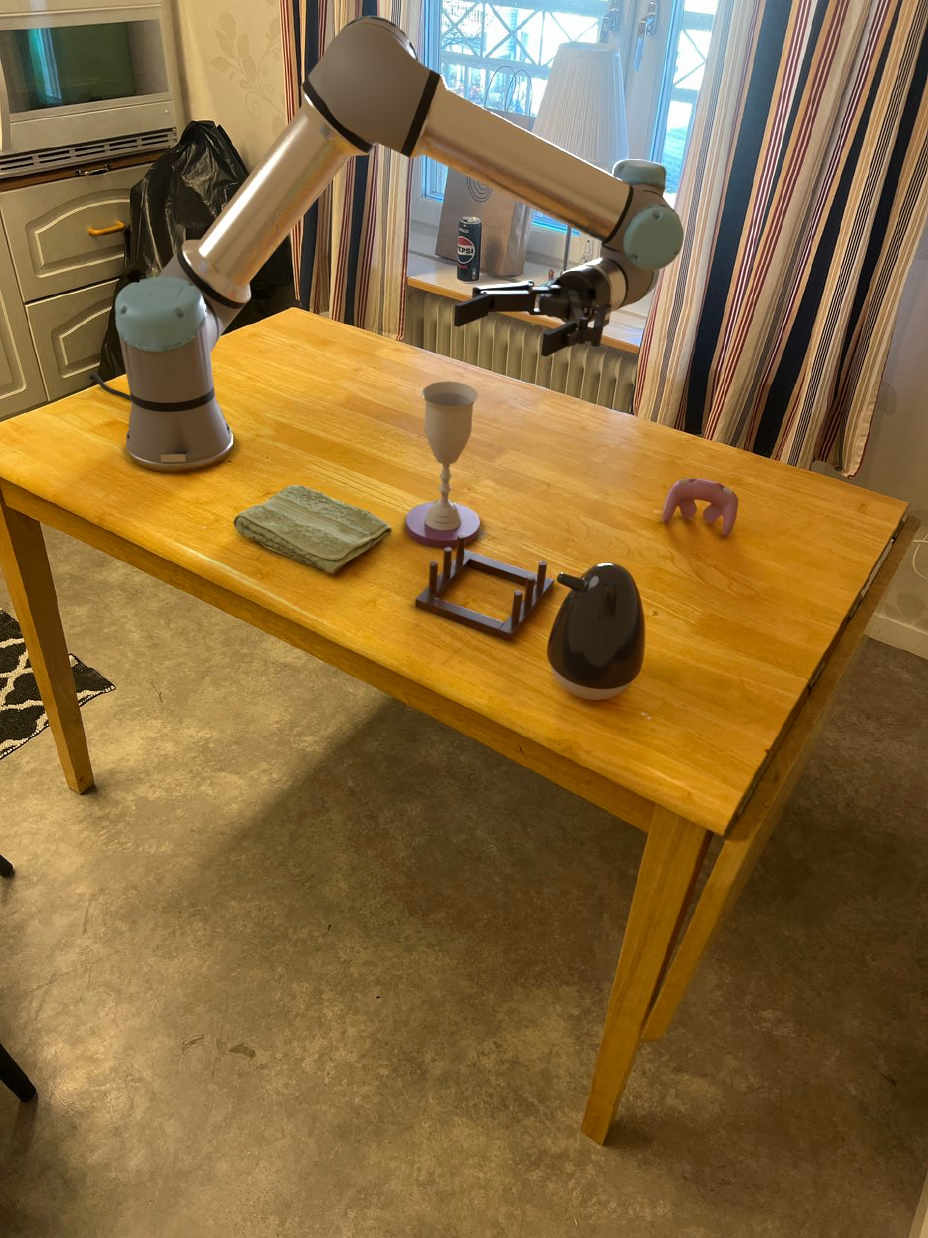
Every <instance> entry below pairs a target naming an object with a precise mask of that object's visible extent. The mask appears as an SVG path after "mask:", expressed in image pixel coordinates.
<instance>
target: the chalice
mask: <svg viewBox="0 0 928 1238" xmlns="http://www.w3.org/2000/svg"><path fill="white" fill-rule="evenodd" d="M421 394H422V397H423V399H424V402H425V412H424V413H425V415H424V433H425V435H426V439H427V442H428V445H429V447H430V450H431V453H433V456H434V458H435V460H436V462H437V463H439V464H442V469H441V473H440V474H439V477H440V480H441V484H440V485H439V486H438V491H439V492H440V495H441V496H440V499H438V500H436V502H435V501H433V502H434V503H433V504H432V505H431V507H430V510H429V511H428V514H427V515H426V517H425V522H426V524H427V525H428V526H430V527H432V528H434V529H438V530H452V529H455V528H457V527H459V526H460V525H461V523H462V519H461V517H460V513H459V511H458V508H457V506H456V505H455V504H454V503H455V502H453V501H451V500H450V499H449V493H450V492H451V491H452V489H453V488H452V487H451V486H450V481H451V478H452V477H453V476H452V473H451V469H450V467H451V465H452V464H455V463H457V462H458V460H459V458H460V457H461V455H462V453H463V451H464V450H465V448H466V446H467V443H468V442H469V439H470V437H471V435H472V424H473V412H474V411H473V410H474V404H475V403H476V401H477V399H478V396H479V395H478V394H479V393H478V392H477V389H476V388H474V387H472V386H470V385H469V384H465V383H461V382H458V381H457V382H456V381H437V382H435V383H431V384H429V385H427V386H425V387H424V388H423V389H422V392H421Z"/></svg>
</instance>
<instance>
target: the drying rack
mask: <svg viewBox="0 0 928 1238" xmlns="http://www.w3.org/2000/svg"><path fill="white" fill-rule="evenodd" d="M465 547H466V545H465V535H464V534H459V535H458V536H457V547H456V550H455V551H456V552H455V558H454V559H453V560H452V557H453V548H450V547H446V548H443V555H442V556H443V557H442V572H441V573H440V574H439V573H438V572H439V563H438V561H436V560H431V561H430V562H429V566H428V567H429V568H428V572H429V573H428V586H427V587H426V588H425V589H424V590H423V591H422V592H421V593H420V594H419V595H418V596H417V597H416V598H415V603H414V606H415V608H417V609H420V610H423V611H424V612H428V613H430V614H433V615H436V616H439V617H442V618H444V619H447V620H449V621H451V622H452V621H453V622H455V623H458V624H461V625H463V626H466V627H468V628H470V629H471V628H472V629H474V630H476V631H479V632H482V633H484V634H487V635H490V636H492V637H495V638H498V639H501V640H504V641H506V642H509V643H511V642H512V641H513V639H514V638H515V637H516V636H517V635H518V633H519V632H520V631H521V629H522V628H523V627H524V625H525V624H526V623H527V622H528V621H529V619H530V618H531V617H532V615H533V614H534V612H535V611H536V610H537V609H538V608H539V607H540V605H541V604H542V603H543V601H544V600H545V598H546V597H547V596H548V595H549V593H550V592H551V591H552V590H553V588H554V585H555V579H553V578H550V577H547V576H546V575H547V568H548V563H547V561H545V560H540V561H539V562H538V567H537V573H536V572H532V571H529V570H526V569H523V568H520V567H518V566H515V565H511V564H509V563H506V562H503V561H500V560H497V559H495V558H491V557H488V556H484V555H483V554H480V553H476V552H473V551H471V550H467V549H465ZM469 567H470V568H472V569H475V570H478V571H481V572H484V573H487V574H489V575H493V576H495V577H498V578H501V579H505V580H507V581H509V582H513V583H516V584H519V585H522V586H524V587H525V588H524V592H523V591H522V590H518V589H517V590H515V591H514V592H513V599H512V609H511V614H510V616H509V617H508V618H507V620H506V621H502V620H499V619H496V618H493V617H490V616H488V615H485V614H482V613H479V612H476V611H475V610H472V609H468V608H466V607H463V606H460V605H457V604H455V603H452V602H448V600H444V599H441V597H442V596H443V595H444V594H445V592H446V591H448V590H449V588H450V587H451V586H452V585H453V584H454V583H455V582H456V581H457V580H458V579H459V578H460V577H461V576H462V575H463V574H464V573H465V572H466V571H467V570H468V568H469Z"/></svg>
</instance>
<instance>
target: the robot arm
mask: <svg viewBox="0 0 928 1238" xmlns="http://www.w3.org/2000/svg"><path fill="white" fill-rule="evenodd" d="M300 95H301V106H300V107H299V109H298V110H297V111H296V113H295V114H294V115H293V116H292V118H291V119H290V121H289V122H288V123H287V125H286V126H285V127H284V129H283V130H282V131H281V132H280V134H279V135H278V137H276V139H275V141H274V142H273V143H272V145H270V147H269V149H268V150H267V151H266V152H265V154H264V155H263V156H262V158H261V159H260V161H259V162H258V163H257V165H256V166H255V167H254V168H253V170H252V171H251V172H250V174H249V175H248V176H247V178H246V179H245V180H244V181H243V182H242V184H241V186H240V187H239V188H238V190H237V191H236V192H235V194H234V195H233V196H232V197H231V199H230V200H229V201H228V203H226V206H225V207H224V208H223V210H222V211H221V212H220V214H219V215H218V216H217V217H216V219H215V220H214V221H213V223H212V224H211V226H209V228H208V229H207V231H205V233H204V235H203V236H202V237H201V239H188V240H185V241H184V242H183V243H182V245H180V247H179V248H178V250H177V251H176V252H175V254H174V255H173V256H172V258H171V259H170V260H169V262H168V263H167V264H166V266H164V267H163V268H162V270H161V271H160V272H159V274H158V275H157V276H153V277H147V278H144V279H143V278H142V279H140V280H139V282H131V283H129V284H128V285H126V286H125V287H123V288H122V289H121V290H120V291H119V292H118V293H117V296H116V298H115V303H114V304H115V305H114V310H115V327H116V330H117V332H118V339H119V342H120V343H119V344H120V347H121V354H122V358H123V363H124V369H125V374H126V379H127V386H128V390H129V393H126V392H123V391H121V390H117V389H114V388H112V387H110V386H108V385H107V384H105V382H104V381H103V380H102V379H101V377H100V376H99V375H98V374H97V373H95V372H92V373H90V375H89V380H95V382H96V383H97V384H98V385H99V386H100V385H101V386H100V387H101V388H102V389H103V390H104V391H106V392H107V393H110V394H112V395H115V396H118V397H121V398H123V399H126V400H127V401H129V402H130V403H131V406H130V413H129V420H128V430H127V432H126V436H125V447H126V451H127V457H128V458H129V459H130V461H131V462H132V463H134V465H136V466H139V467H141V468H143V469H145V470H149V471H154V472H159V473H170V474H171V473H175V474H176V473H188V472H196V471H200V470H204V469H207V468H210V467H213V466H216V465H218V464H220V463H221V462H223V461H225V460H226V459H228V457H230V455H231V454H232V452H233V450H234V447H235V445H234V436H233V433H232V429H231V427H230V425H229V424H228V423H227V420H226V418H225V415H224V413H223V411H222V409H221V406H220V404H219V402H218V400H217V397H216V392H215V382H214V374H213V365H212V352H213V350H214V348H215V347H216V345H217V343H218V341H219V339H220V338H221V336H222V335H223V333H224V332H225V330H226V329H227V328H228V326H229V325H230V324H231V323H232V322H233V321H234V319H235V318H236V317H237V316H238V315H239V313H241V311H242V310H243V308H244V307H245V306H246V304H247V303H248V302H249V301H250V300H251V297H252V292H251V286H250V282H251V281H252V280H253V279H254V277H255V276H256V275H257V274H258V272H259V271H260V270H261V268H262V267H263V266H264V264H266V262H267V261H269V259H270V258H271V256H272V255H273V254H274V253H275V252H276V250H277V249H278V248H279V246H281V244H282V243H283V242H284V240H285V239H286V238H287V237H288V235H289V234H290V233H291V231H292V230H293V229H294V228H295V227H296V225H298V223H299V222H300V220H301V219H302V218H303V216H305V214H306V213H307V212H308V211H309V210H310V208H311V207H312V206H313V204H314V203H315V202H316V201H317V199H319V197H320V196H321V195H322V194H323V192H324V190H326V189H327V187H328V186H329V185H330V183H331V182H332V181H333V179H334V178H335V177H336V176H337V175H338V173H340V172H341V170H342V168H343V167H344V166H345V165H346V163H347V162H349V160H350V159H351V157H354V156H368V155H369V154H370V153H371V152H372V151H373V149H374V148H375V147H376V146H377V144H379V145H381V146H383V147H385V148H388V149H390V150H392V151H394V152H396V153H399V154H401V155H403V156H404V157H407V158H409V159H411V160H414V159H415V158H418V157H421V156H425V157H427V158H430V159H431V160H434V161H435V162H437V163H440V164H442V165H443V166H446V167H448V168H450V169H452V170H453V171H456V172H458V173H459V174H462V175H464V176H465V177H468V178H470V179H472V180H474V181H476V182H478V183H480V184H483V185H484V186H487V187H488V188H491V189H493V190H495V191H497V192H498V193H501V194H503V195H505V196H507V197H509V198H510V199H513V200H515V201H517V202H519V203H521V204H522V205H525V206H527V207H529V208H531V209H533V210H535V211H537V212H539V213H541V214H543V215H545V216H547V217H550V218H552V219H553V220H555V221H557V222H560V223H562V224H564V225H566V226H568V227H570V228H572V229H574V230H576V231H578V232H579V233H582V234H584V235H586V236H588V237H589V238H592V239H594V240H596V241H598V242H600V248H599V256H598V259H595V260H592V261H590V262H587V263H585V264H582V265H579V266H577V267H574V268H571V269H569V270H566V271H564V272H562V273H561V274H560V275H559V276H557V278H556V279H555V280H554V282H553V283H552V285H551V284H550V285H548V286H535V281H534V280H533V279H528V280H524V281H520V282H512V283H500V284H490V285H488V284H487V285H478V286H472V292H471V298H469V299H466V300H464V301H461V302H459V303H456V304H455V305H454V317H453V318H454V319H453V326H455V327H456V328H457V327H458V328H460V327H463V326H465V325H467V324H470V323H473V322H475V321H477V320H480V319H483V318H485V317H488V316H489V313H528V314H529V315H530V316H547V318H556V319H559V320H561V321H562V323H564V324H562V325H559V326H557V327H555V328H552V329H550V330H548V331H546V332H544V333H543V335H542V337H543V338H542V344H541V351H540V352H541V353H540V356H542V357H549V356H551V355H553V354H555V353H557V352H560V351H562V350H563V349H565V348H570V347H573V346H575V345H577V344H579V345H584V344H586V342H590V346H591V347H595V348H597V347H600V346H601V343H602V337H603V332H604V329H605V327H606V326H608V325H609V324H610V320H611V314H612V312H615V311H617V310H619V309H622V308H624V307H626V306H629V305H633V304H636V303H637V302H639V301H641V300H642V299H643V298H644V297H646V296H647V295H649V294H650V293H652V291H653V290H654V289H655V287H656V286H657V283H658V281H659V277H660V270H662V269H664V268H666V267H667V266H669V265H670V264H671V263H672V262H673V261H675V260H676V258H677V257H678V256H679V254H680V252H681V250H682V248H683V245H684V239H685V232H684V227H683V224H682V222H681V218H680V216H679V214H678V212H676V210H675V209H674V208H672V206H671V205H670V204H669V203H668V202H667V201H666V199H665V197H664V193H665V191H666V189H667V187H666V181H667V172H668V171H667V169H666V167H665V166H664V165H663V164H661V163H658V162H656V161H651V160H647V159H634V158H633V159H632V158H630V159H629V158H627V159H622V160H619V161H617V162H616V163H615V164H614V166H613V168H612V172H611V173H609V172H607V171H605V170H603V169H601V168H599V167H597V166H594V165H593V164H591V163H589V162H587V161H586V160H583V159H582V158H580V157H578V156H576V155H574V154H572V153H570V152H569V151H566V150H565V149H563V148H560V147H559V146H557V145H555V144H553V143H552V142H549V141H547V140H545V139H543V138H542V137H539V136H538V135H536V134H534V133H532V132H530V131H528V130H526V129H524V128H522V127H520V126H518V125H517V124H515V123H513V122H511V121H509V120H507V119H505V118H503V117H501V116H499V115H497V114H496V113H493V112H492V111H490V110H488V109H486V108H484V107H482V106H481V105H478V104H477V103H475V102H473V101H471V100H469V99H467V98H465V97H464V96H461V95H459V94H457V93H455V92H454V91H452V90H450V89H449V88H448V85H447V83H446V81H445V78H444V75H442V74H440V73H438V72H437V71H434V70H432V69H431V68H429V67H428V66H426V65H424V64H423V63H422V62H420V60H419V57H418V54H417V50H416V49H415V47H414V44H413V42H412V41H411V40H410V39H409V37H408V36H407V35H406V32H405V31H404V30H403V29H401V28H400V27H399V26H398V25H397V24H396V23H394V22H392V21H390V20H389V19H387V18H385V17H381V16H377V15H365V16H364V15H363V16H359V17H357V18H355V19H353V20H351V21H349V22H347V23H346V24H345V25H344V26H343V27H342V29H340V31H339V32H338V34H336V35H335V37H334V38H332V40H331V41H330V42H329V44H328V46H327V47H326V49H325V51H324V53H323V55H322V56H321V58H320V60H319V61H318V62H317V63H316V65H315V66H314V67H313V69H312V70H311V72H310V73H309V74H308V75H307V77H306V78H305V79H304V81H303V82H302V83H301V85H300ZM536 301H537V307H538V308H535V307H536ZM592 322H593V327H591V326H589V323H592Z"/></svg>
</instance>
